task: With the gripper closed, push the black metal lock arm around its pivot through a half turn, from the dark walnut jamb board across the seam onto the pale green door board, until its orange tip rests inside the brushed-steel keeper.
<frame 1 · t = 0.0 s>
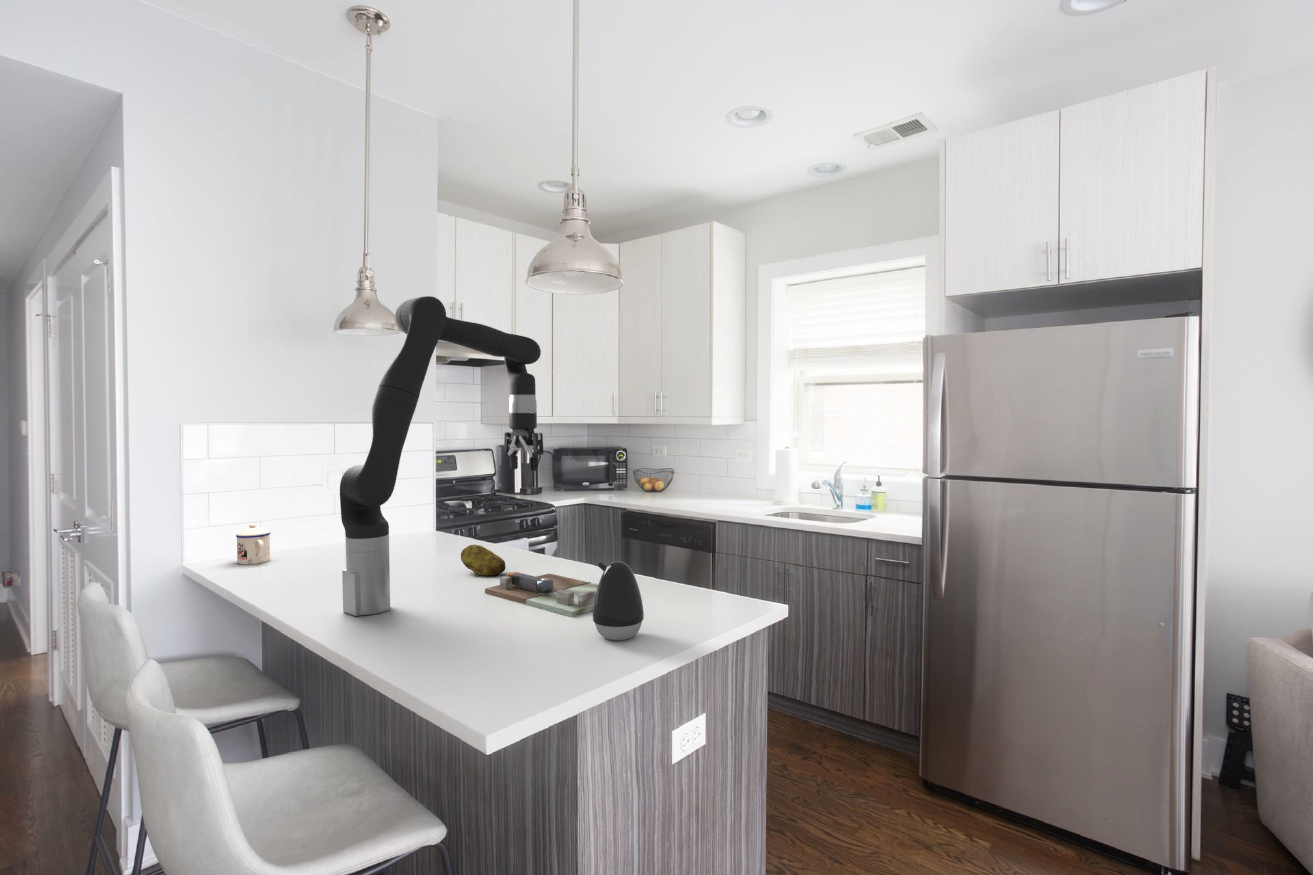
hand: (523, 469, 191), 29 cm above the countertop, fingers open, 8 cm apart
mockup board: (545, 599, 167), on the countertop
pump dispenser: (618, 637, 138), on the countertop
potato: (482, 574, 193), on the countertop
lock arm: (530, 581, 170), point 3 cm above the countertop, hinge at 0.0°
teacup with lid: (255, 563, 210), on the countertop
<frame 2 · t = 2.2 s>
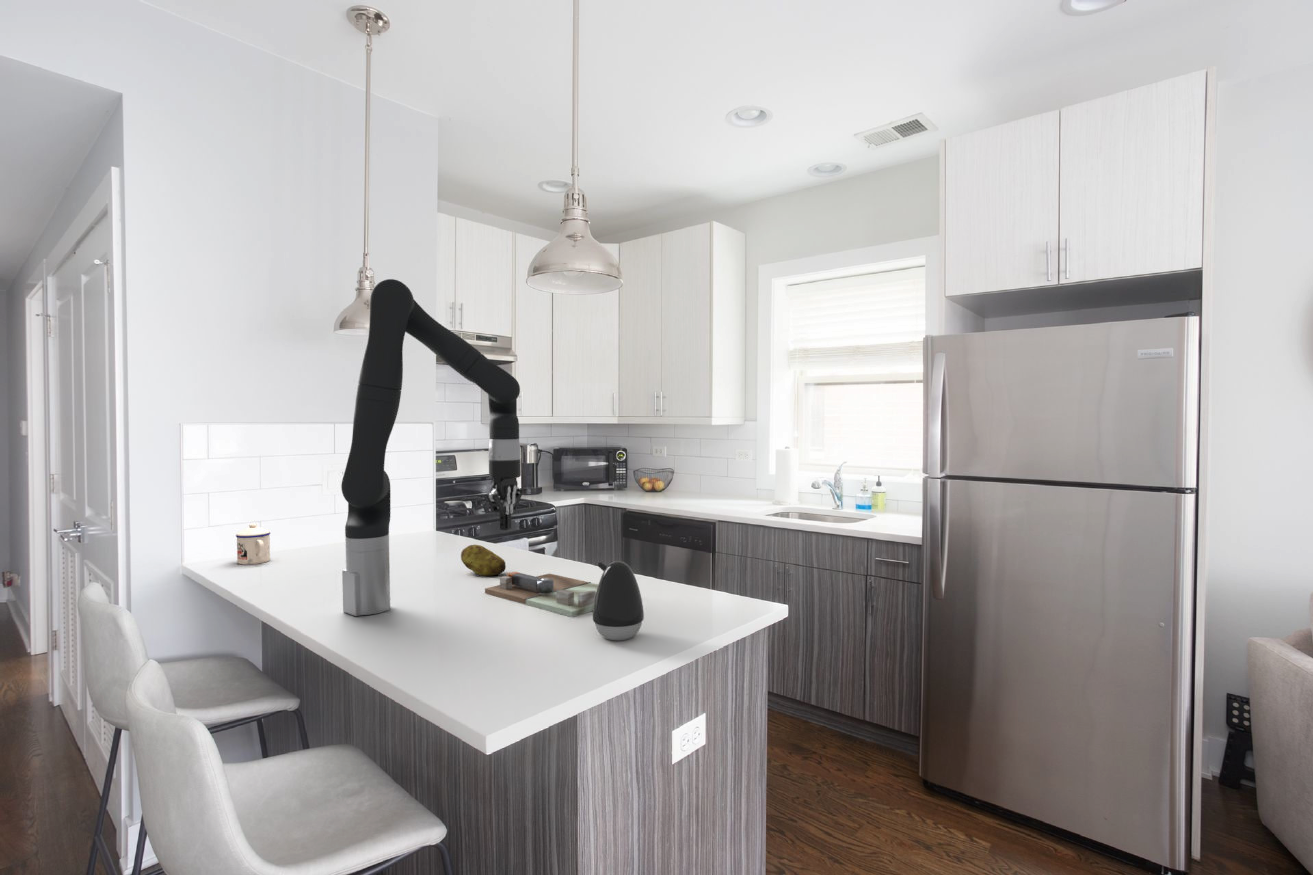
hand: (505, 529, 167), 17 cm above the countertop, fingers closed
nothing on the countertop moved.
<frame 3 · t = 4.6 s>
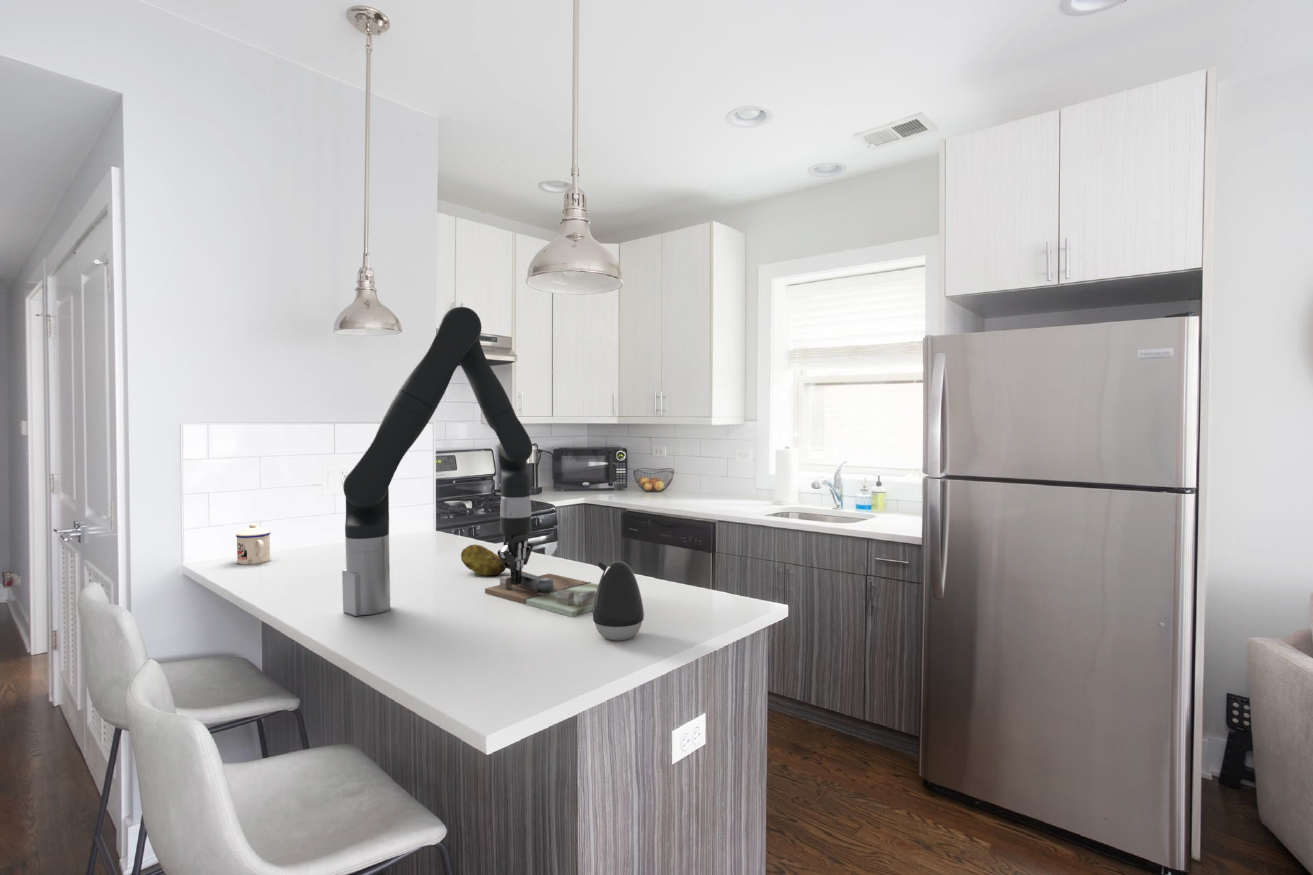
hand: (516, 584, 170), 3 cm above the countertop, fingers closed
lock arm: (532, 580, 171), point 3 cm above the countertop, hinge at 7.1°, touching gripper
everything else where it was.
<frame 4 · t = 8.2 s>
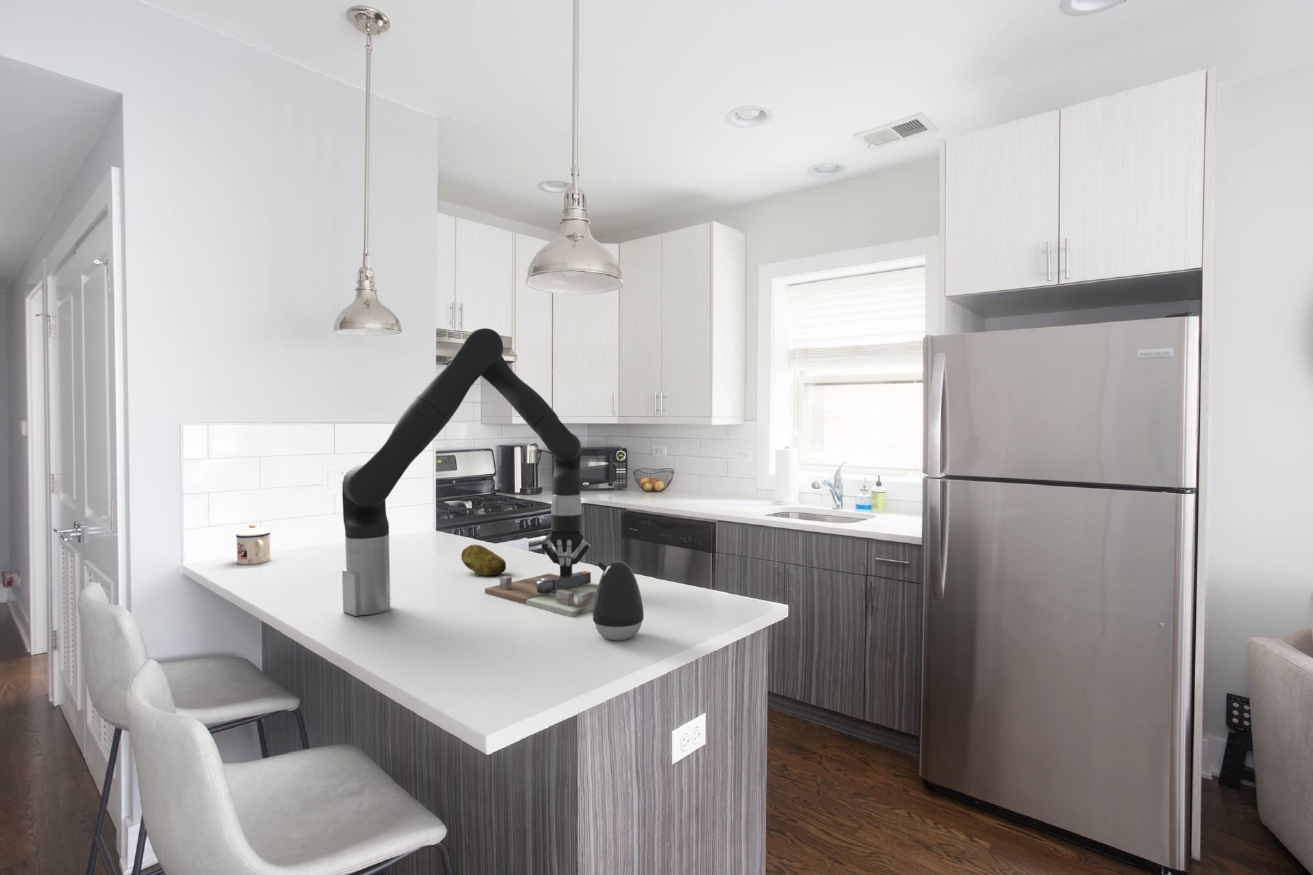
hand: (566, 579, 175), 3 cm above the countertop, fingers closed
lock arm: (563, 581, 170), point 3 cm above the countertop, hinge at 95.0°, touching gripper
everything else where it was.
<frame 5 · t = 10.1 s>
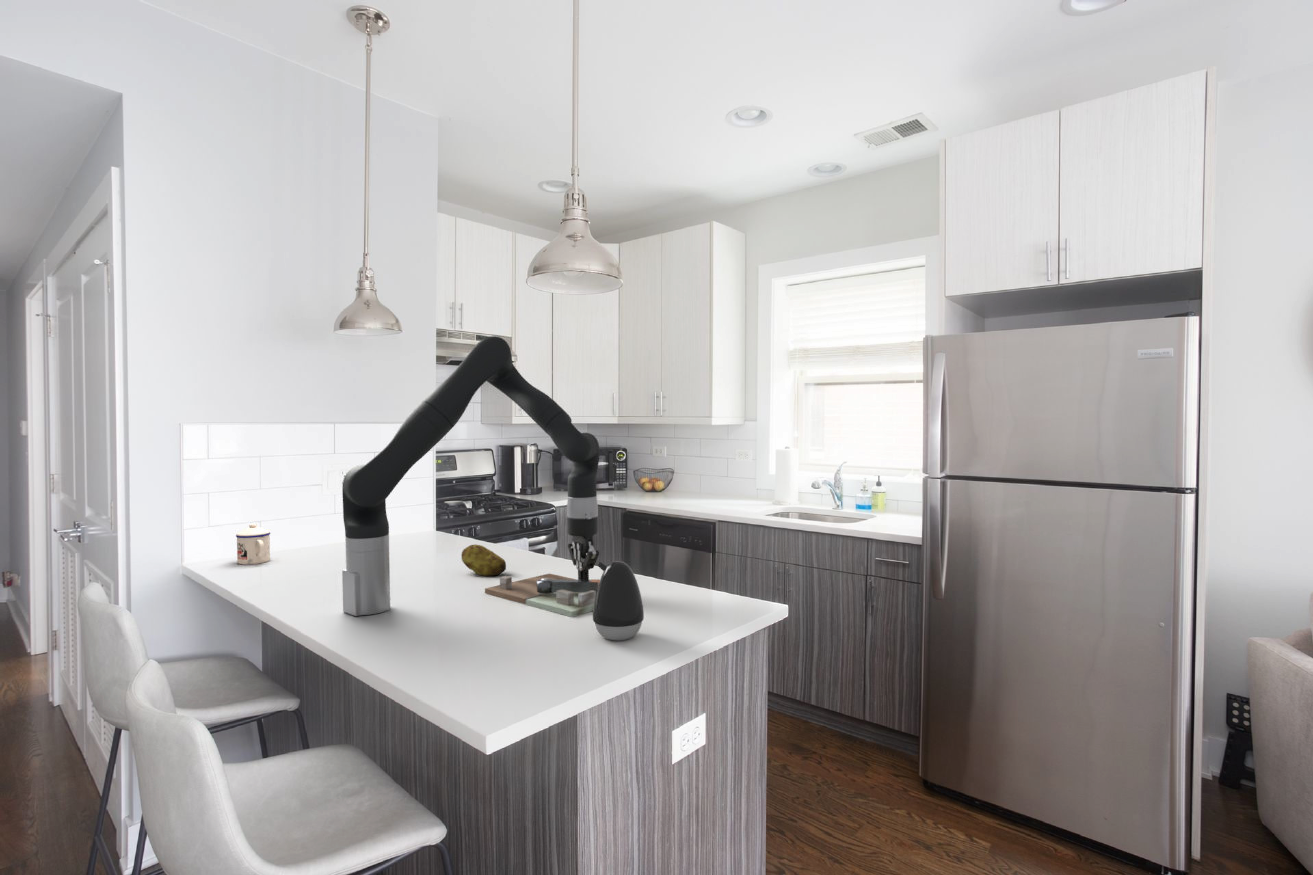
hand: (583, 584, 169), 3 cm above the countertop, fingers closed
lock arm: (567, 585, 166), point 3 cm above the countertop, hinge at 141.9°, touching gripper
everything else where it was.
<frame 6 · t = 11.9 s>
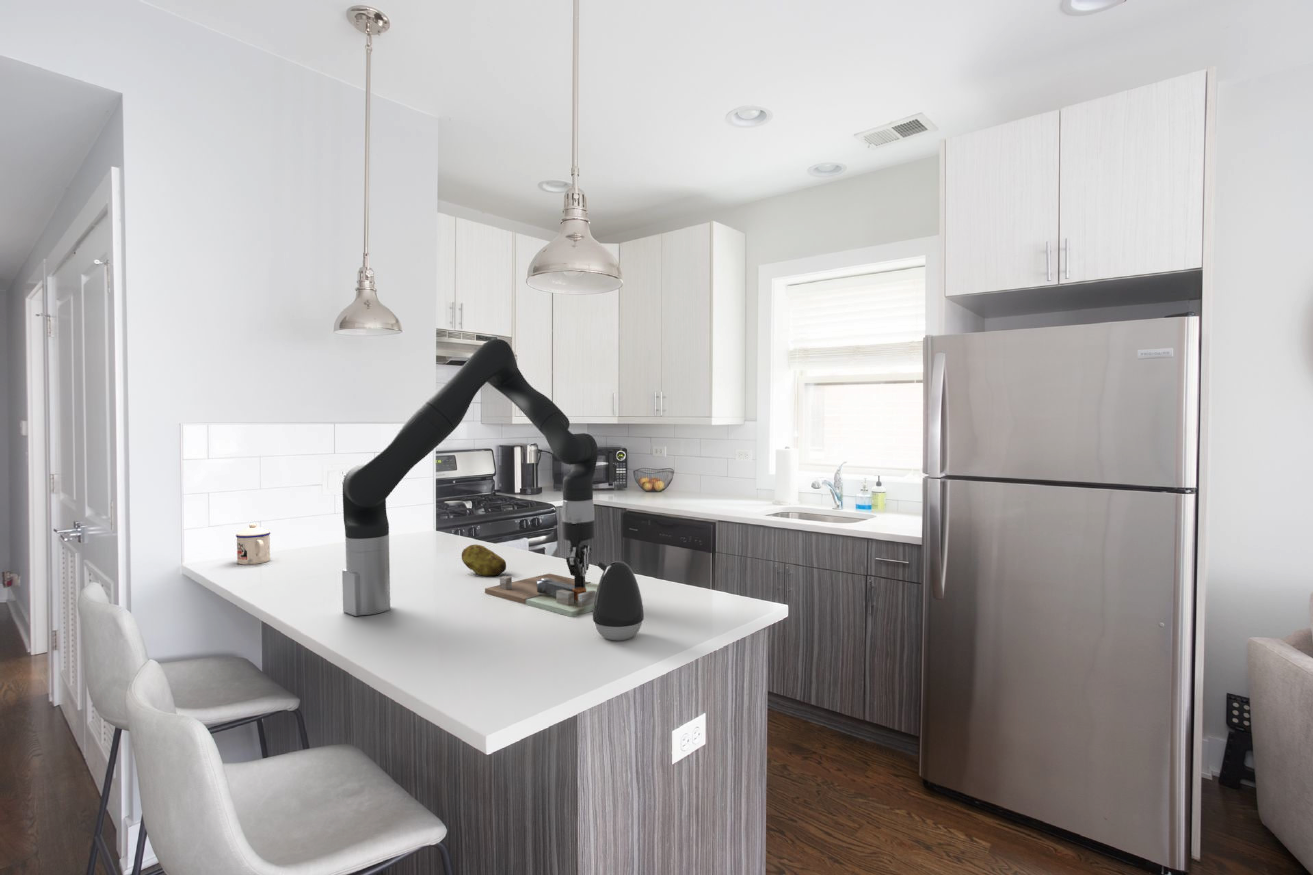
hand: (580, 591, 163), 3 cm above the countertop, fingers closed
lock arm: (560, 588, 163), point 3 cm above the countertop, hinge at 180.3°, touching gripper
everything else where it was.
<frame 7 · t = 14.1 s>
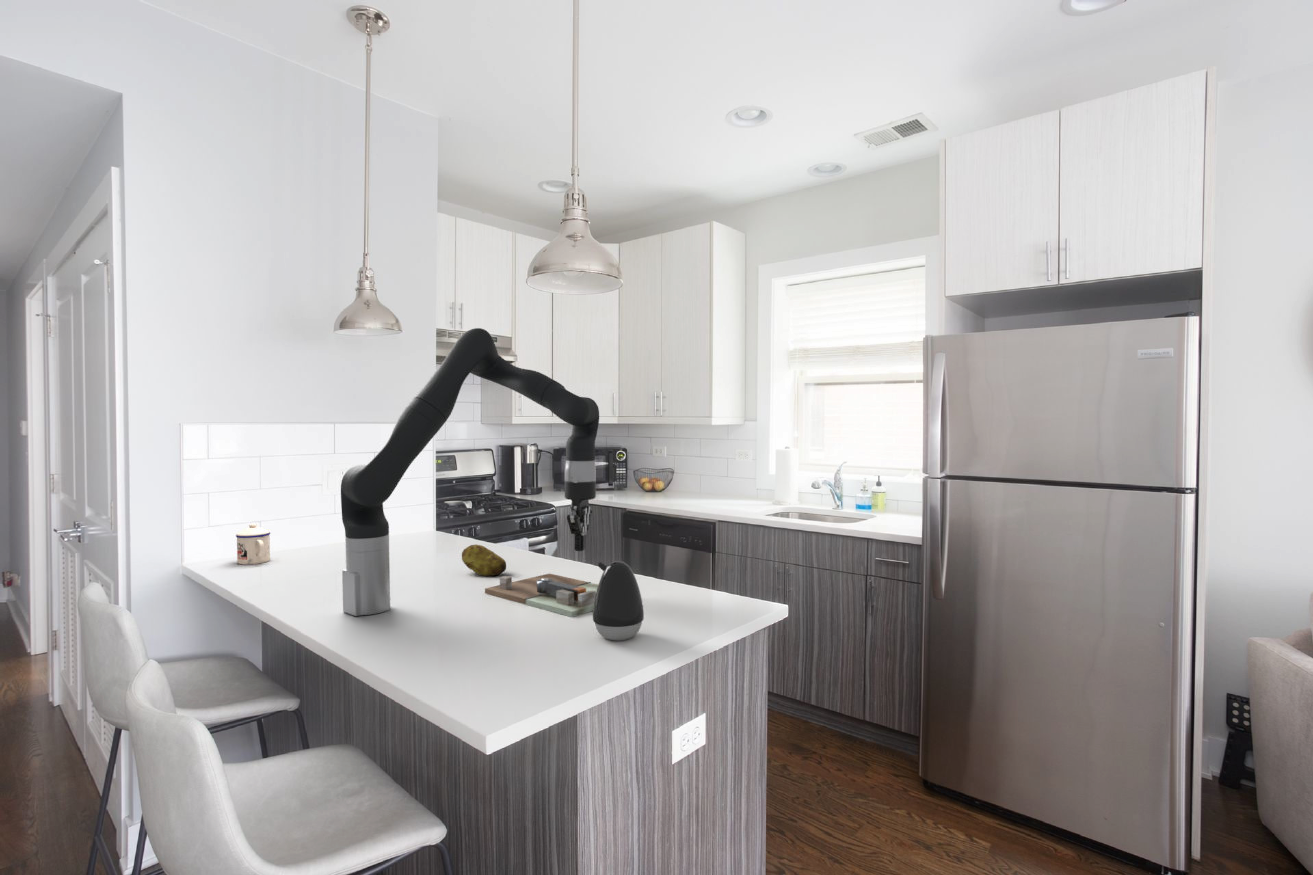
hand: (579, 550, 167), 12 cm above the countertop, fingers closed
lock arm: (560, 588, 163), point 3 cm above the countertop, hinge at 180.4°
everything else where it was.
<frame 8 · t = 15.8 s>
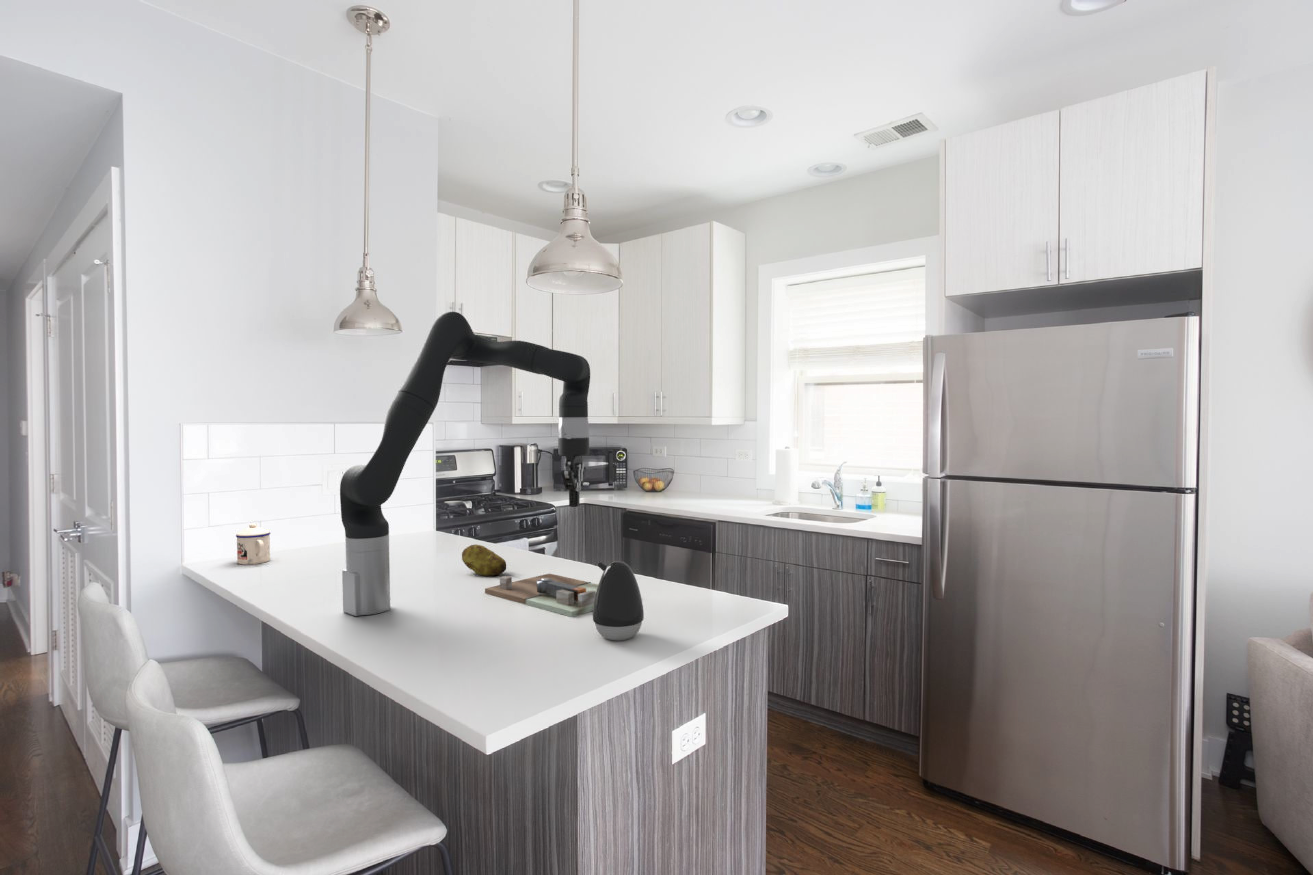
hand: (574, 506, 169), 22 cm above the countertop, fingers closed
nothing on the countertop moved.
at the end: lock arm at +180° (first picture: +0°); the gripper is holding nothing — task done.
